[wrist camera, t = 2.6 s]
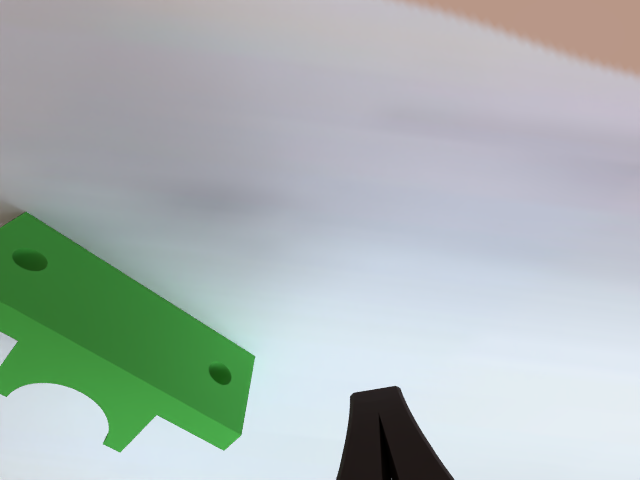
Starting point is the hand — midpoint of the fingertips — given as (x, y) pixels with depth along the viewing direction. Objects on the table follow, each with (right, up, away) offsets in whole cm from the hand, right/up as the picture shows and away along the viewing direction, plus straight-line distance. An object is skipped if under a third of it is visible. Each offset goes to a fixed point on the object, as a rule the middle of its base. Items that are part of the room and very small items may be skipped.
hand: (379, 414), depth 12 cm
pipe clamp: (-10, +2, +7) cm, 12 cm away
